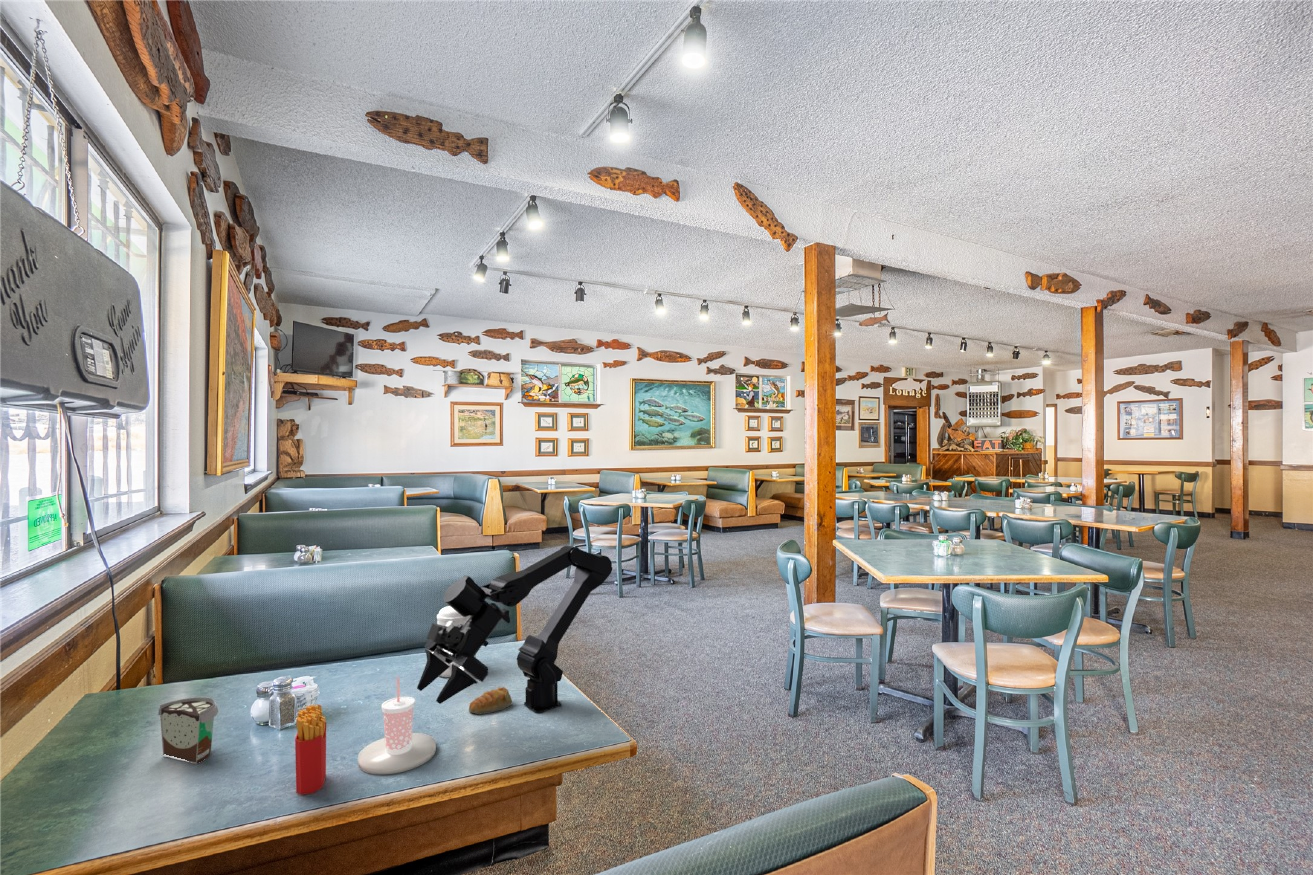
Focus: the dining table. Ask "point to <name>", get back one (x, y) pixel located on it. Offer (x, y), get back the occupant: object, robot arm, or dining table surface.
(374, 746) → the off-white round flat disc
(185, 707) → the food container
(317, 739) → the french fries
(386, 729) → the beverage cup
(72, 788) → the dining table surface
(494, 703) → the pastry
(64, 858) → the dining table surface
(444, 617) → the coffeepot
